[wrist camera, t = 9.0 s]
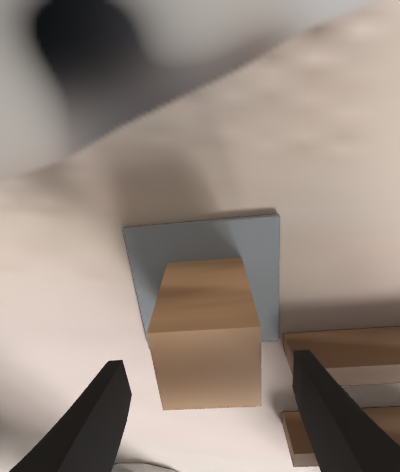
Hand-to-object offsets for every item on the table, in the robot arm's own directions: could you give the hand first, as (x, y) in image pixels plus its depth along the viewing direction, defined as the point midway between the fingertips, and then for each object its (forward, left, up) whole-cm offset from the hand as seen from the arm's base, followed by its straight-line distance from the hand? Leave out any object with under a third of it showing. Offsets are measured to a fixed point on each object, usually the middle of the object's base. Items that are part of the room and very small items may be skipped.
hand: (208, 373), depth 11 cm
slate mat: (0, 0, -7) cm, 7 cm away
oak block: (0, 0, -6) cm, 6 cm away
